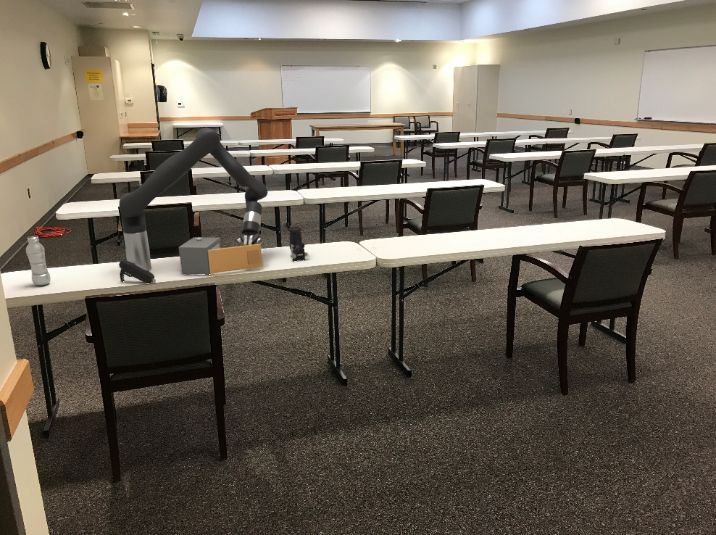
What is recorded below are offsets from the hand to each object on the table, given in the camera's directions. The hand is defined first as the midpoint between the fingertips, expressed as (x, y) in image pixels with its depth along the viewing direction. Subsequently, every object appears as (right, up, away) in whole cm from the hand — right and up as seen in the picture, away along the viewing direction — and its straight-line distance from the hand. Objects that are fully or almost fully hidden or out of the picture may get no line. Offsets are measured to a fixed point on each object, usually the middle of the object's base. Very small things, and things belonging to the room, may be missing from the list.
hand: (246, 259), depth 239 cm
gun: (-41, -10, -12) cm, 44 cm away
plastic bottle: (-80, -11, -13) cm, 82 cm away
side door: (-4, -5, -2) cm, 6 cm away
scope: (+20, +1, +17) cm, 26 cm away
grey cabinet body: (-20, -4, +3) cm, 20 cm away
